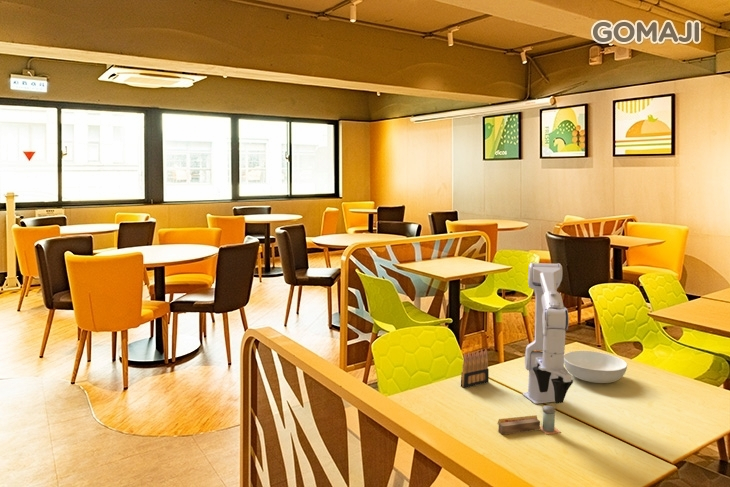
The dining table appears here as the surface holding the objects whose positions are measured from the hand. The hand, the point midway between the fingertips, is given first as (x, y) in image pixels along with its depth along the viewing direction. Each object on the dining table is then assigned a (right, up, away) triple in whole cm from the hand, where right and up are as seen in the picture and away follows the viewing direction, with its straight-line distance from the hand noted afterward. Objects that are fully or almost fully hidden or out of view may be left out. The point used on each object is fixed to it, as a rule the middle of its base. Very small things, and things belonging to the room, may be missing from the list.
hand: (551, 397), depth 160 cm
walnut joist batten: (-9, -10, +1) cm, 13 cm away
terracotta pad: (0, -10, +1) cm, 10 cm away
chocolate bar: (-8, -10, +6) cm, 14 cm away
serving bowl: (+28, -4, +40) cm, 49 cm away
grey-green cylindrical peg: (0, -10, +1) cm, 10 cm away
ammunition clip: (-15, -5, +34) cm, 38 cm away
